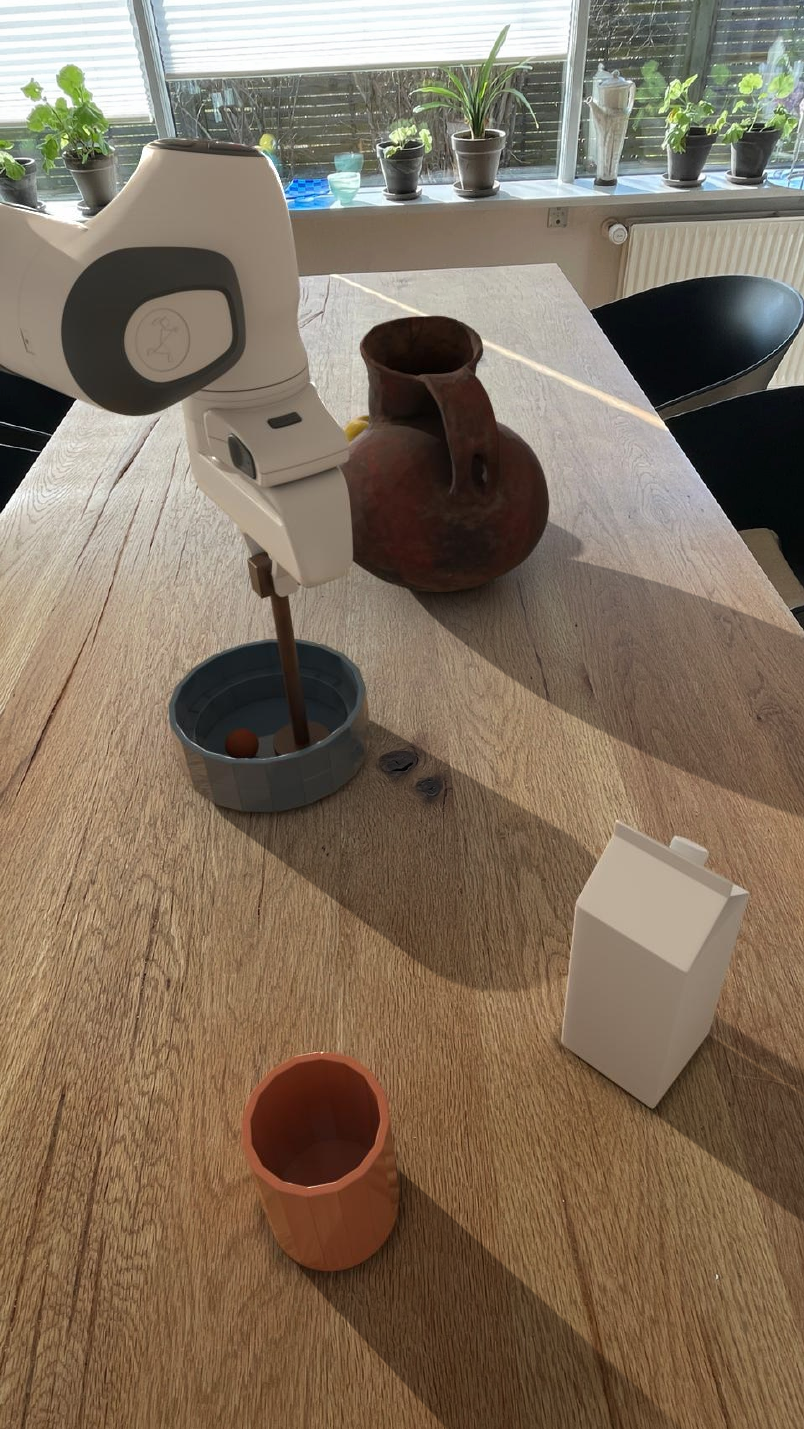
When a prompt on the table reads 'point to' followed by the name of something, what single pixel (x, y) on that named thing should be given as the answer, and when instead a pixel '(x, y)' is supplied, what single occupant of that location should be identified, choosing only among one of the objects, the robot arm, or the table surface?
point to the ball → (241, 744)
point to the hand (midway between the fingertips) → (275, 582)
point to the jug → (438, 465)
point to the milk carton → (648, 960)
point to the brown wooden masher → (286, 665)
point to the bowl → (269, 725)
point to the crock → (323, 1159)
